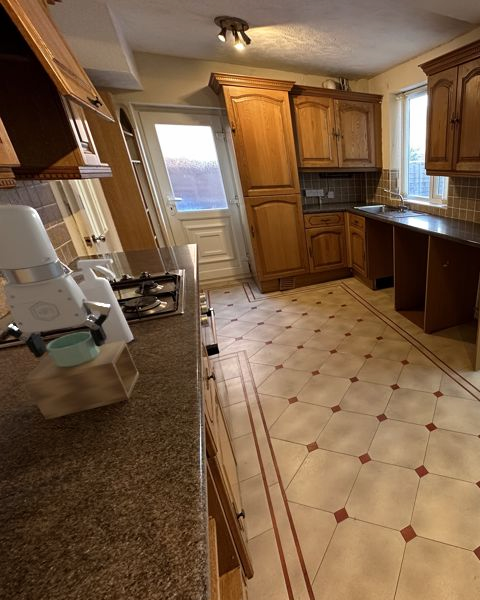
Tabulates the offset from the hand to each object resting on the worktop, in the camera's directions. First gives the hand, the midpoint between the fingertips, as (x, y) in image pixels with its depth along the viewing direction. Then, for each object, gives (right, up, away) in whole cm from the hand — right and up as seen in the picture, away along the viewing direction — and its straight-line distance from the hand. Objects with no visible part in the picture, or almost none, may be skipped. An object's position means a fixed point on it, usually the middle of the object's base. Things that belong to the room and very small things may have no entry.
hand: (72, 348), depth 69 cm
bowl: (0, -2, +1) cm, 3 cm away
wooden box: (0, -11, +5) cm, 13 cm away
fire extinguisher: (-14, -2, +26) cm, 30 cm away
